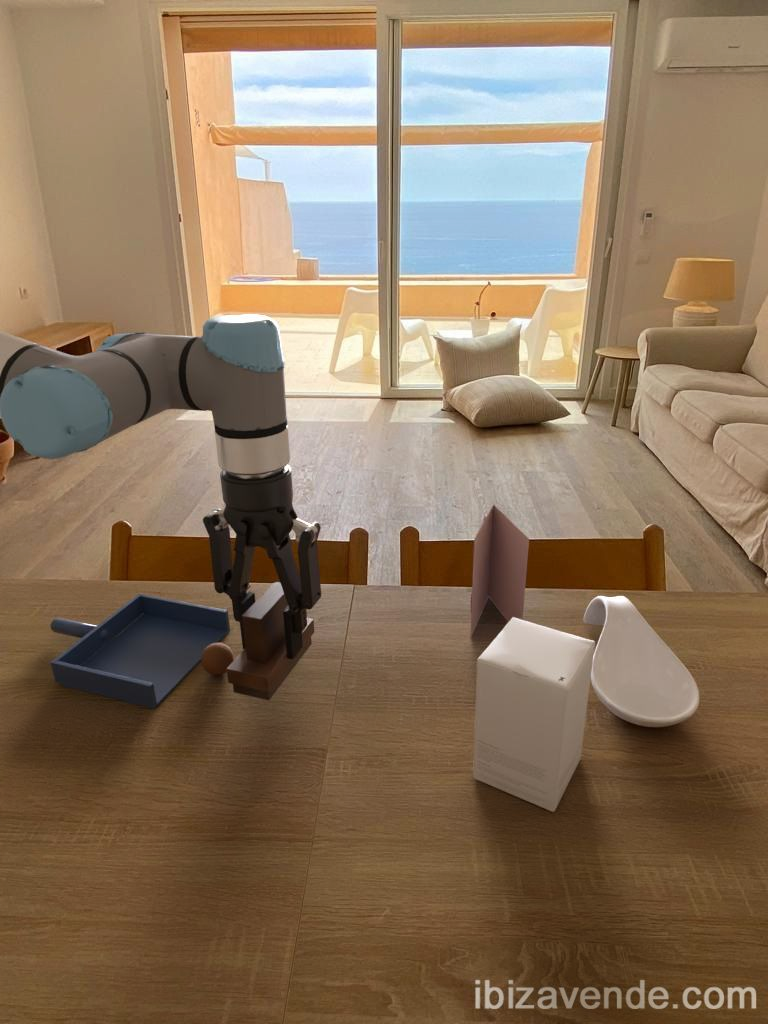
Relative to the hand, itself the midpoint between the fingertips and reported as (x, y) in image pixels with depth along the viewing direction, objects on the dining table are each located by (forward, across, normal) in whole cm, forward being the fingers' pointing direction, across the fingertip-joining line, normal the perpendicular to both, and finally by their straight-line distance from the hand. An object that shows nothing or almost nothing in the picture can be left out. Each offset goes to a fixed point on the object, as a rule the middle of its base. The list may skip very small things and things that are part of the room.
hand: (272, 647), depth 83 cm
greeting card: (+6, -23, -23) cm, 33 cm away
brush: (+3, 0, 0) cm, 3 cm away
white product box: (+6, -31, +4) cm, 32 cm away
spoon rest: (+6, -40, -15) cm, 43 cm away
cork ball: (+3, +8, 0) cm, 9 cm away
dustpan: (+5, +23, 0) cm, 24 cm away
